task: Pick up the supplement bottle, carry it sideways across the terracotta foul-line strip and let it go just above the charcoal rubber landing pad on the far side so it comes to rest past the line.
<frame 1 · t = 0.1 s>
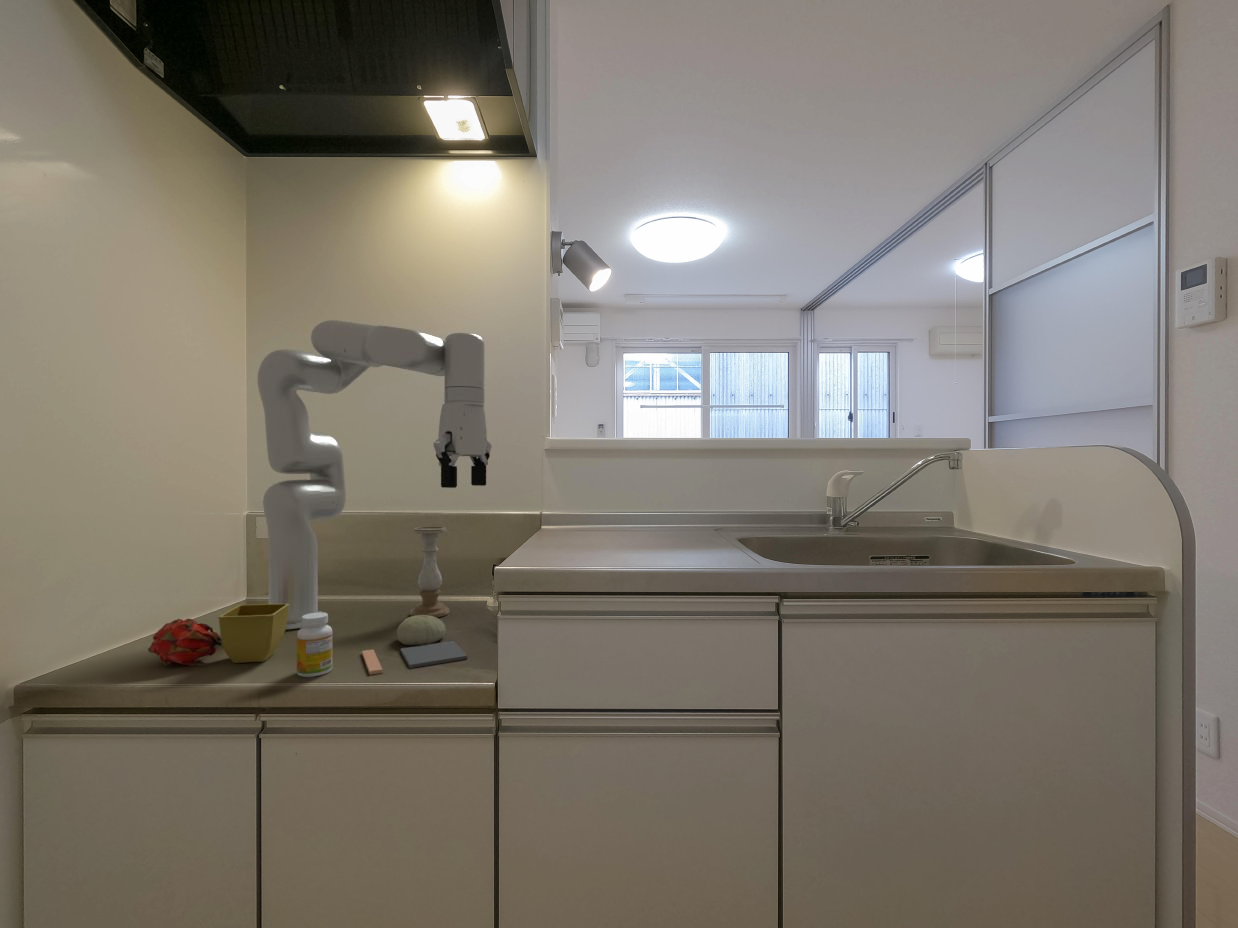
hand: (464, 486, 114), 31 cm above the countertop, tool pointing down, fingers open, 9 cm apart
sea urchin shell: (420, 641, 118), on the countertop
supplement bottle: (314, 673, 100), on the countertop
flower pot: (255, 659, 107), on the countertop
foul line: (371, 662, 104), on the countertop
candle holder: (430, 615, 138), on the countertop
dragon fruit: (187, 663, 105), on the countertop
landing pad: (433, 655, 109), on the countertop
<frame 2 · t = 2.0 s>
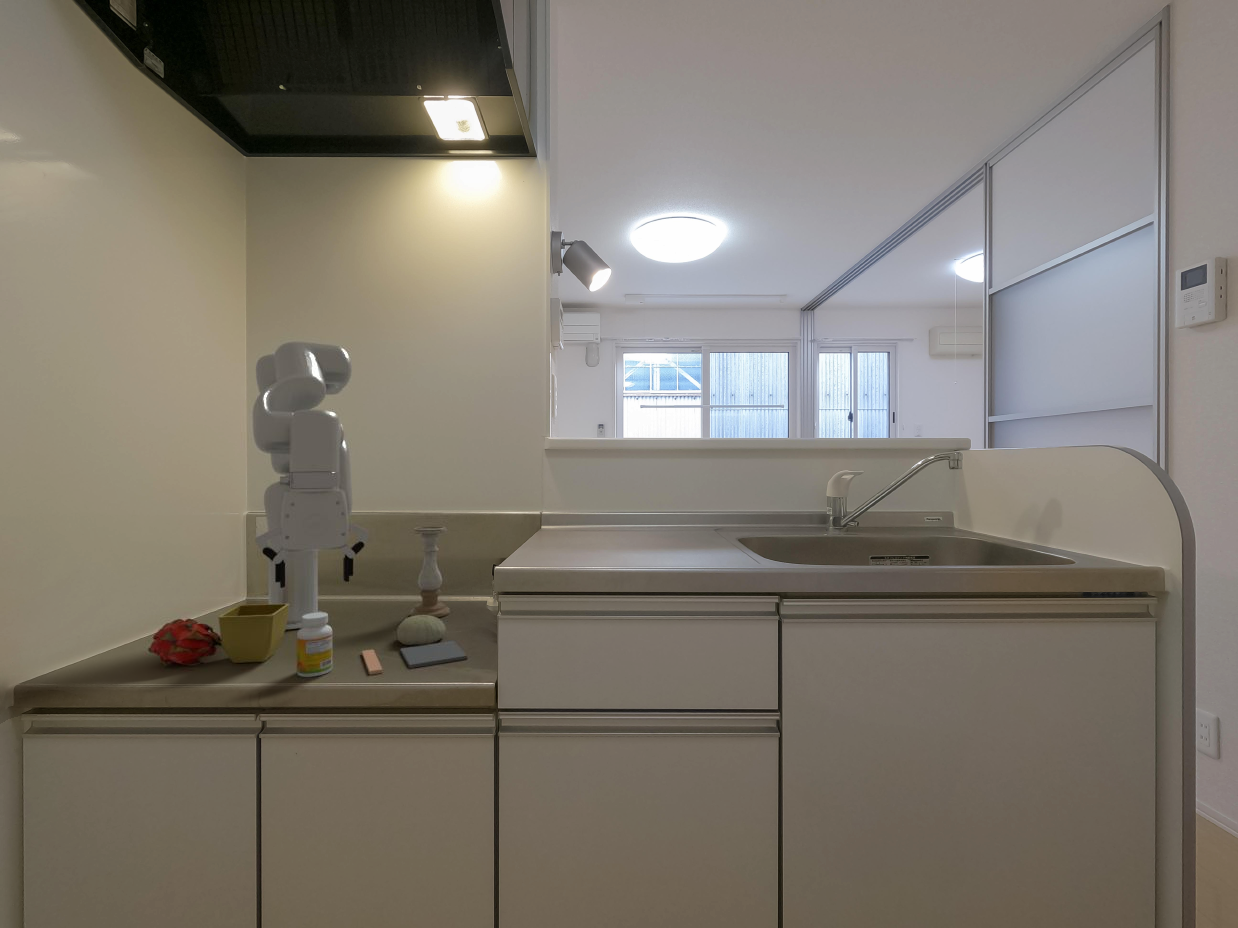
hand: (315, 583, 100), 15 cm above the countertop, tool pointing down, fingers open, 9 cm apart
nothing on the countertop moved.
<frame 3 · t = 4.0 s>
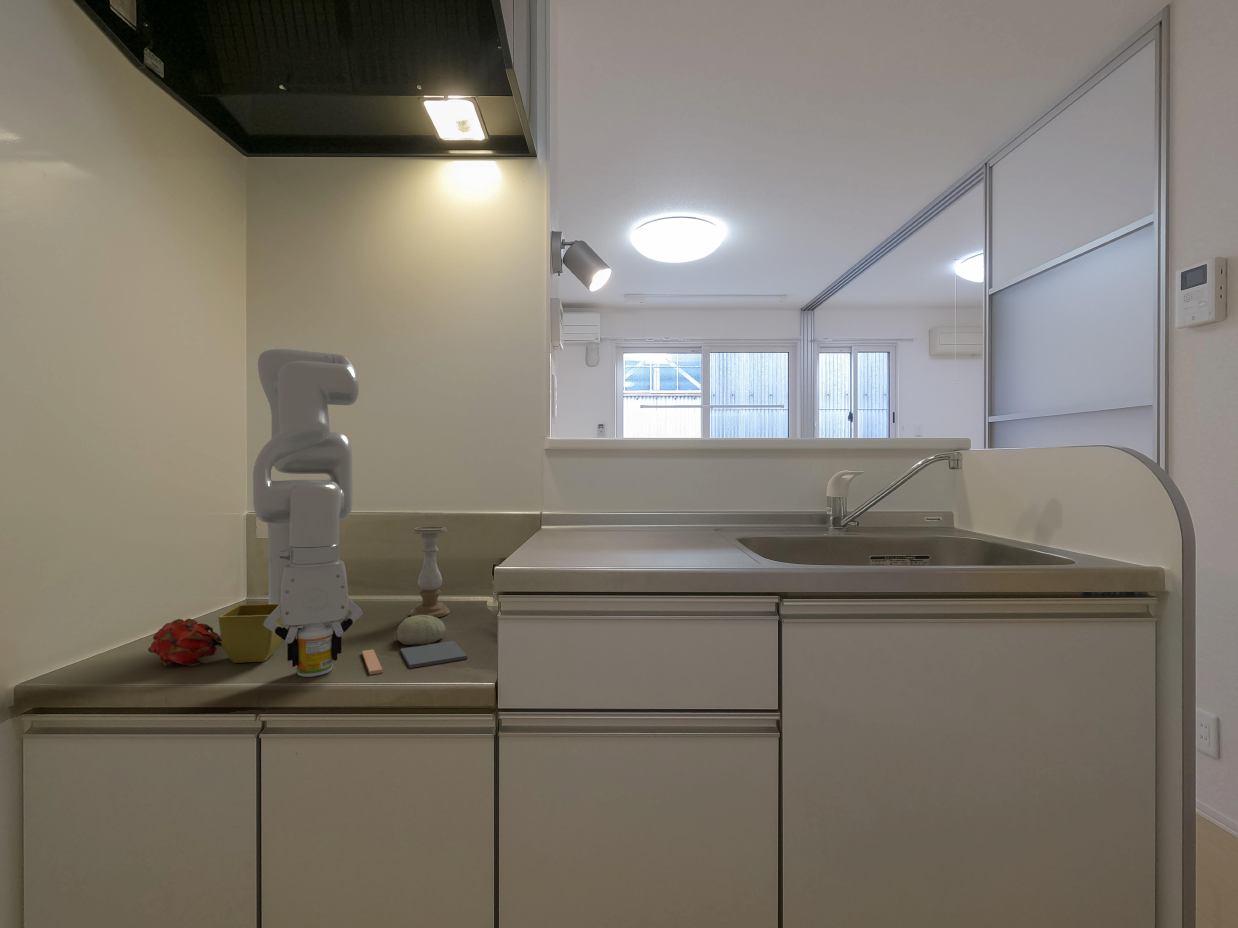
hand: (314, 659, 100), 2 cm above the countertop, tool pointing down, fingers closed on supplement bottle, 5 cm apart
supplement bottle: (314, 672, 100), on the countertop, touching gripper
everything else where it was.
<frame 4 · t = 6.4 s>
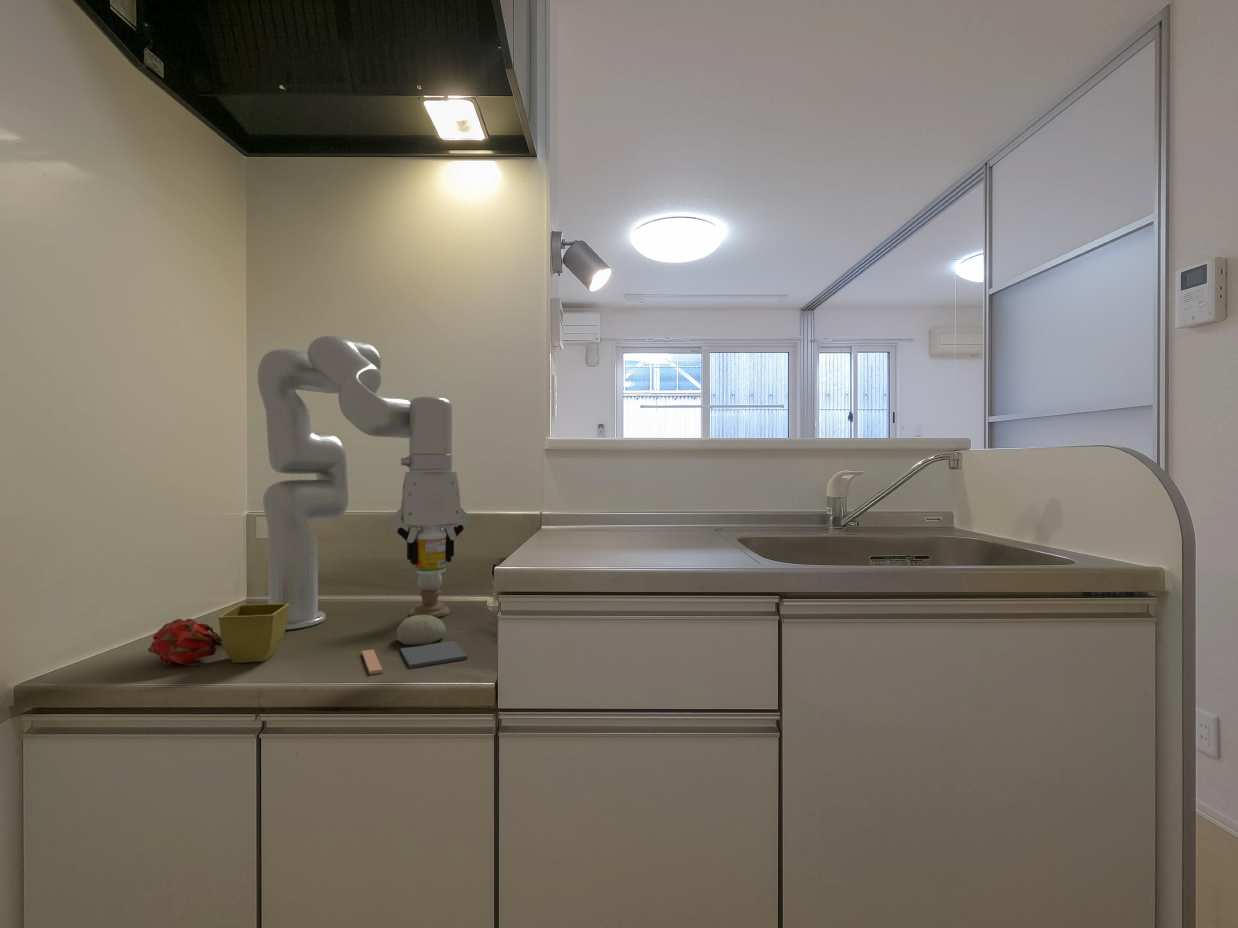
hand: (430, 561, 108), 18 cm above the countertop, tool pointing down, fingers closed on supplement bottle, 5 cm apart
supplement bottle: (430, 573, 108), point 15 cm above the countertop, touching gripper
everything else where it was.
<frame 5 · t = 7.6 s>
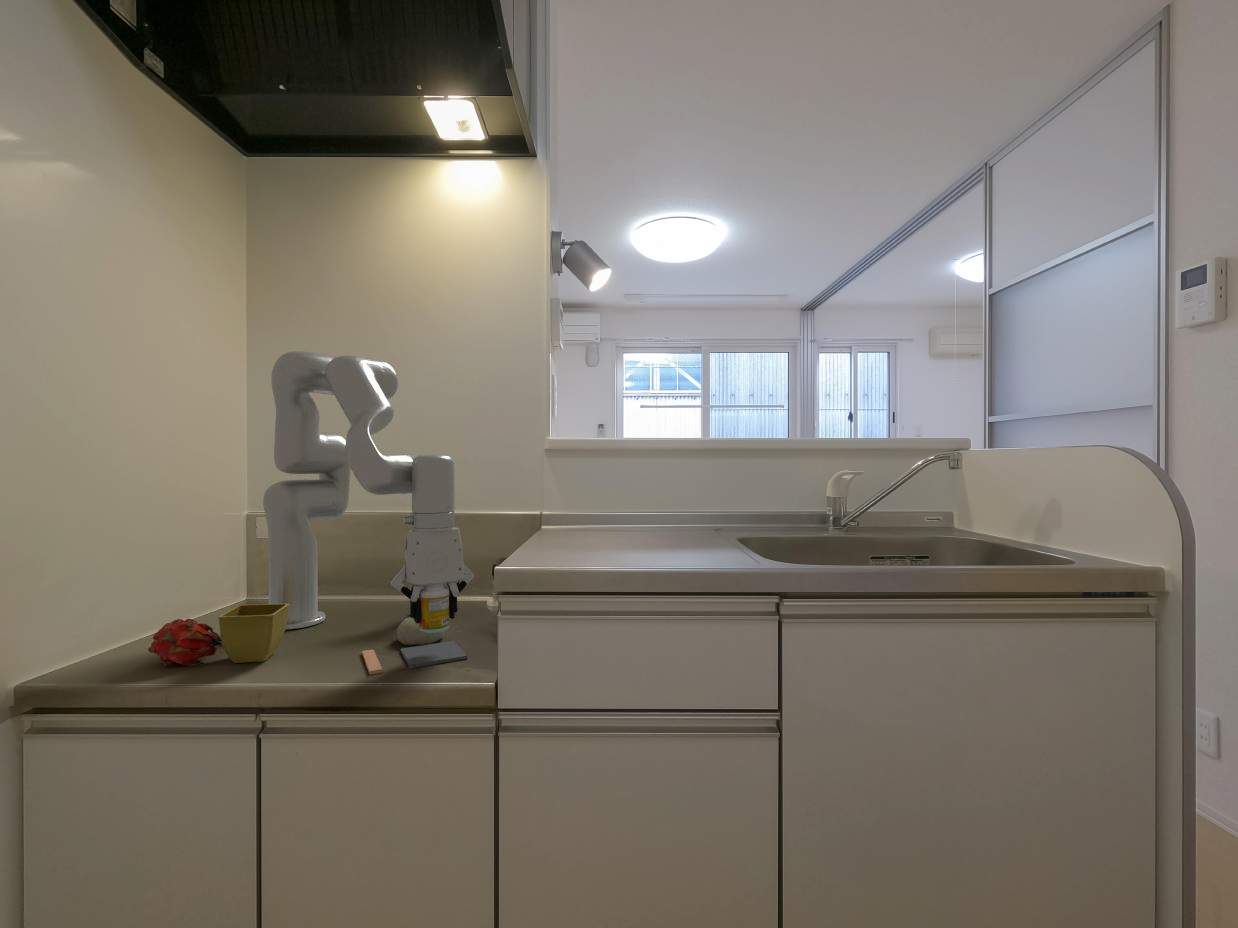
hand: (434, 618, 109), 7 cm above the countertop, tool pointing down, fingers closed on supplement bottle, 5 cm apart
supplement bottle: (434, 630, 109), point 5 cm above the countertop, touching gripper
everything else where it was.
when the fingers open (4 cm above the countertop, at t = 8.7 s): supplement bottle drops 1 cm, resting on landing pad.
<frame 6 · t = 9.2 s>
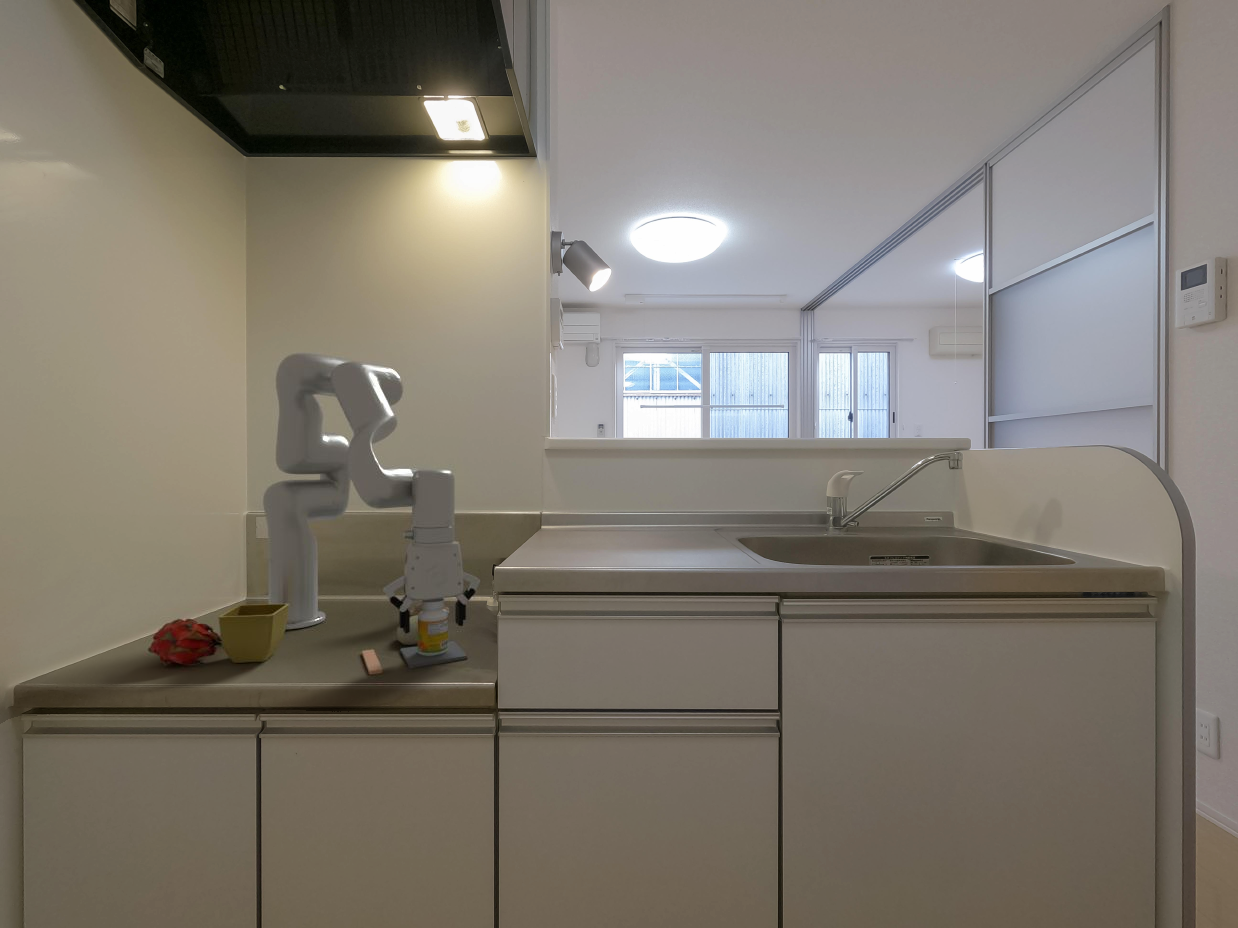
hand: (433, 627, 109), 5 cm above the countertop, tool pointing down, fingers open, 9 cm apart
supplement bottle: (433, 652, 109), resting on landing pad
everything else where it was.
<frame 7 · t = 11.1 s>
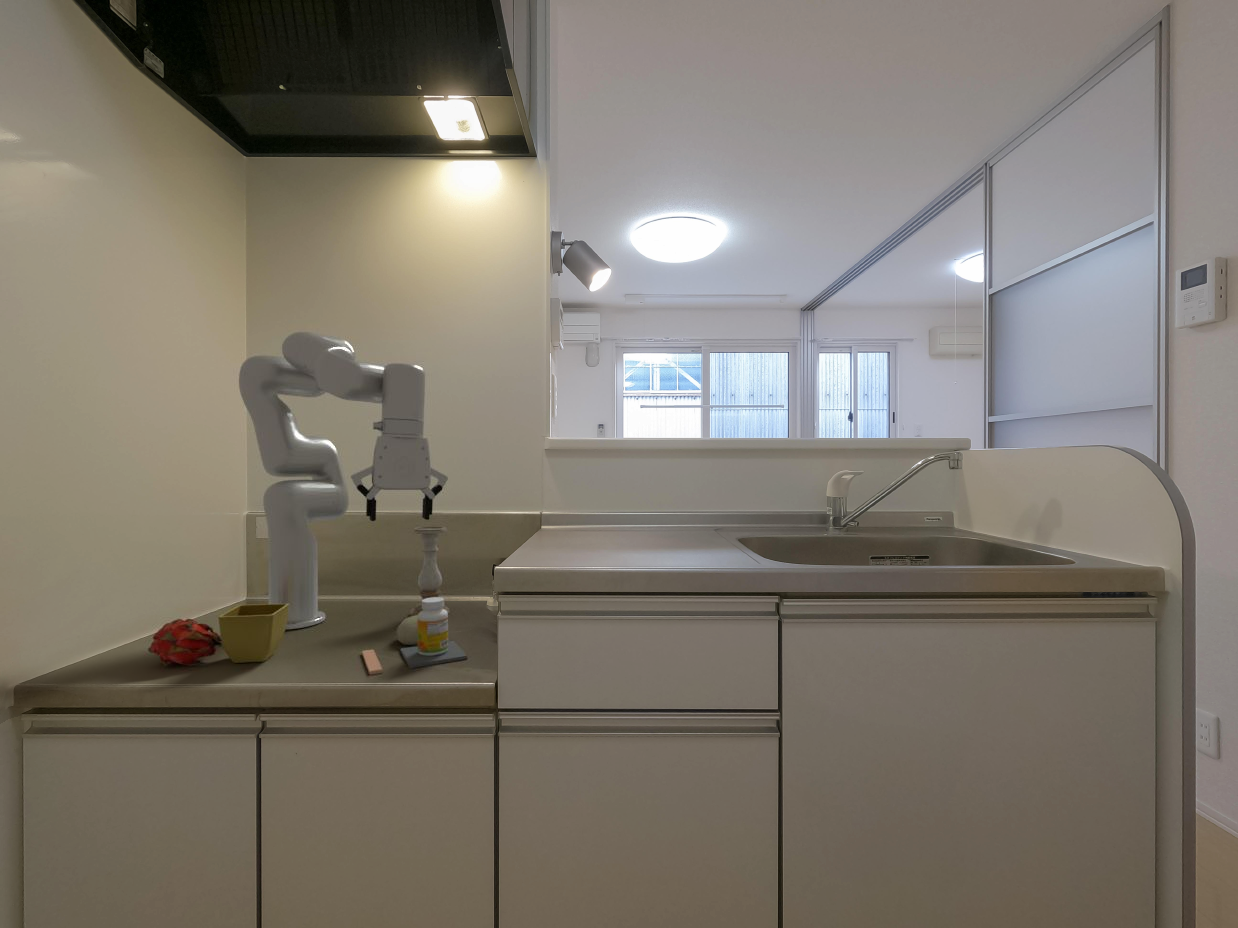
hand: (399, 519, 112), 25 cm above the countertop, tool pointing down, fingers open, 9 cm apart
nothing on the countertop moved.
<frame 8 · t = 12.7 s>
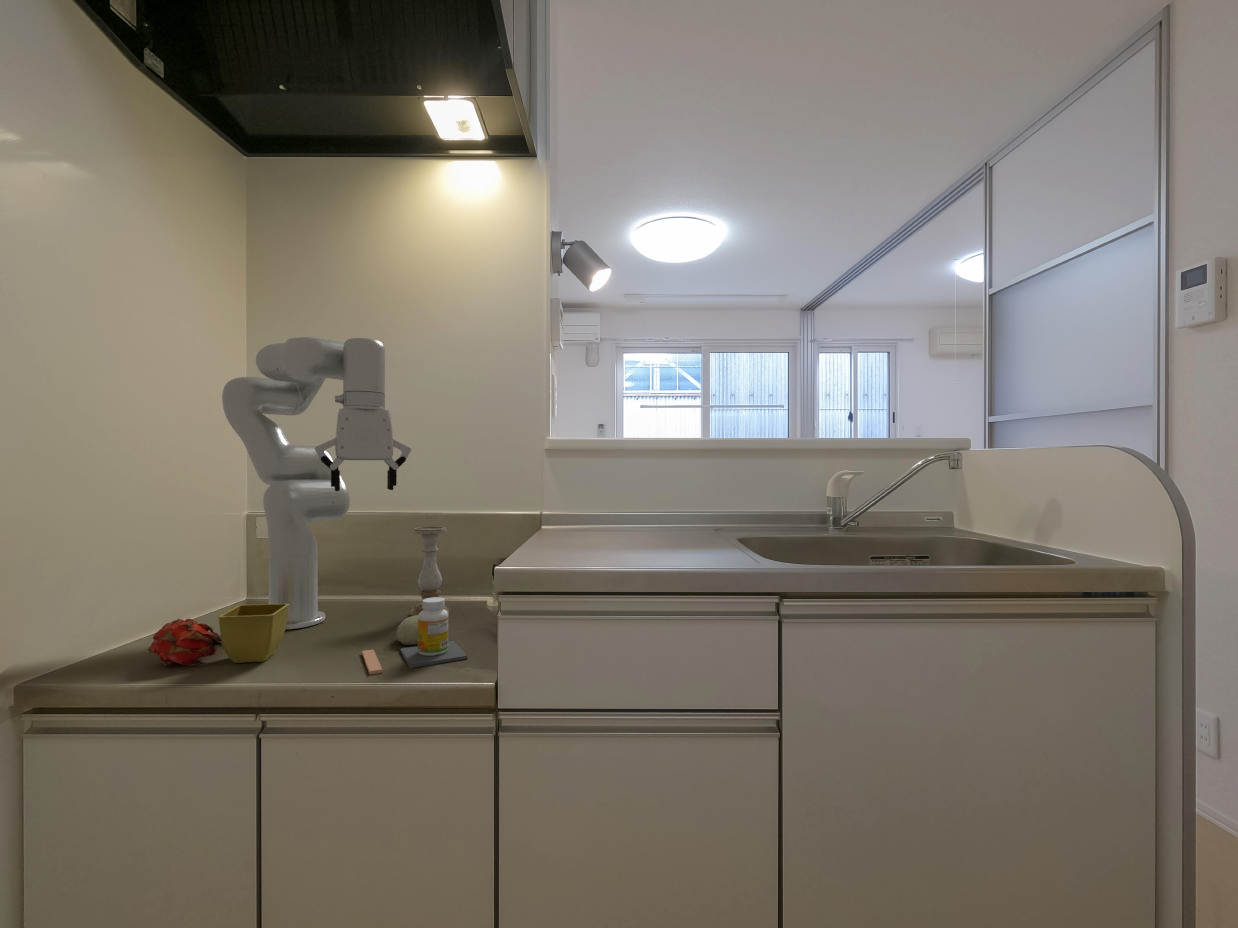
hand: (364, 490, 115), 30 cm above the countertop, tool pointing down, fingers open, 9 cm apart
nothing on the countertop moved.
at the end: supplement bottle inside the target area (1.0 cm from its centre), resting on landing pad; supplement bottle 0.1 cm from the landing pad (horizontally); the gripper is holding nothing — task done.
